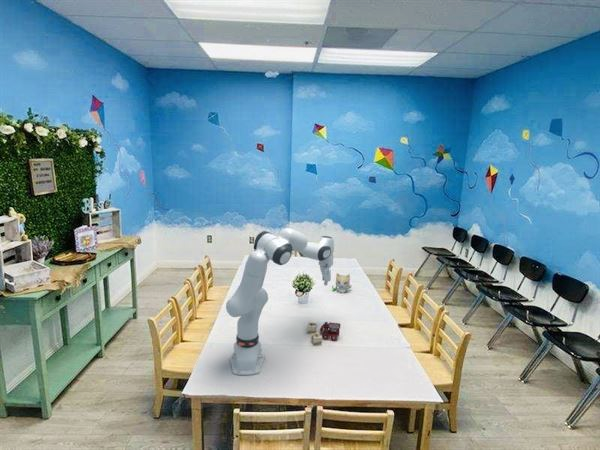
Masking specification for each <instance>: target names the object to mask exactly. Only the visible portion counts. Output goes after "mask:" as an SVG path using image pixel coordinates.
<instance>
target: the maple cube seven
mask: <svg viewBox="0 0 600 450" xmlns="http://www.w3.org/2000/svg"><path fill="white" fill-rule="evenodd" d="M317 327H318V324H317V323H316V322H308V324H307V334H310V335H311V334H316V333H317Z"/></svg>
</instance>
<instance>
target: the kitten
mask: <svg viewBox="0 0 600 450" xmlns="http://www.w3.org/2000/svg"><path fill="white" fill-rule="evenodd" d="M335 276H336V277H335V287H334V285H332V286H331V288H332V292H335V291H336V290H337V291H338V292H339V294H341V293H342V294H344V293H346V292H347V291H348V290H350V289H351V288H352V286H353V285H352V284H351V283H350V280H351V279H350V278H351V275H350V274H346V275H342V274H340V273H338V272H336V275H335Z"/></svg>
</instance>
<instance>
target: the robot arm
mask: <svg viewBox="0 0 600 450" xmlns="http://www.w3.org/2000/svg"><path fill="white" fill-rule="evenodd" d="M334 243H335V241H334V238H333V237H332V236H328V235H321V236H320V240H319V241H318V242H317V243H316V242H312V241H309V240H308V237H307V236H306V235H305V234H304V233H303V232H301V231H299V230H297V229H294V228H290V227H286V228H285V227H284V228H283V229H281V230H280V231H279V232H278V236H276V235H274V234H273V233H271V232H269V231H266V230H263V231H261V232H259V233H258V234H257V235H256V237H255V239H254V244H253V251H252V252H251V253H250V254H249V256H248V257H247V260H246V262H245V265H244V270H243V273H242V277H241V281H240V283H239V284H238V285H239V286H237V288H236V290H235V292H234V293H233V295H232V296H231V297H230V298H229V299H228V300H227V301H226V304H225V309H226V312H227V313H228V315H229V316H230V317H231V318H238V320H237V323H236V324H237V325H236V338H235V339H236V342H234V343H233V353H232V355H230V356H229V359H230V360H229V361H230V365H231V371H232V374H234V375H236V376H237V375H238V376H254V375H258V374H260V373H261V370H262V367H263V364H264V362H265V357H266V356H265V355H264V354H263V353H262V349H263V348H262V343H261V342H260V341H259V339H260V337H259V336H260V335H259V320H260V317H261V315H262V311H263V309H264V307H265V305H266V304H267V303H268V301H269V295H268V292H267V291H266V290H265V288H263V286H264V281H265V278H266V274H267V269H268V263H269V261H271V262H273V263H274V264H276V265H278V266H283V265H286V264H287V263H288V262H289V261H290V259H291V257H292V253H293V252H295V253H298V255H300V257H302V258H308V259H311V260H315V261H318V265H319V269H320V272H321V273H320V274H321V275H322V279H321V280H322V281H324V282H323V285H324V286H327V287H328V283H329V282H331V280H332V279H331V277H332V276H331V275H332V271H331V267H332V266H333V265H334V251H335V244H334Z"/></svg>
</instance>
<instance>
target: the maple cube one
mask: <svg viewBox="0 0 600 450" xmlns="http://www.w3.org/2000/svg"><path fill="white" fill-rule="evenodd" d="M310 335H311V337H310V339H311V340H310V342H311V344H312V346H315V347H316V346H322V344H323V343H322V342H323V338H322V335H320V332H318V333H317V332H316V334H310Z"/></svg>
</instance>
